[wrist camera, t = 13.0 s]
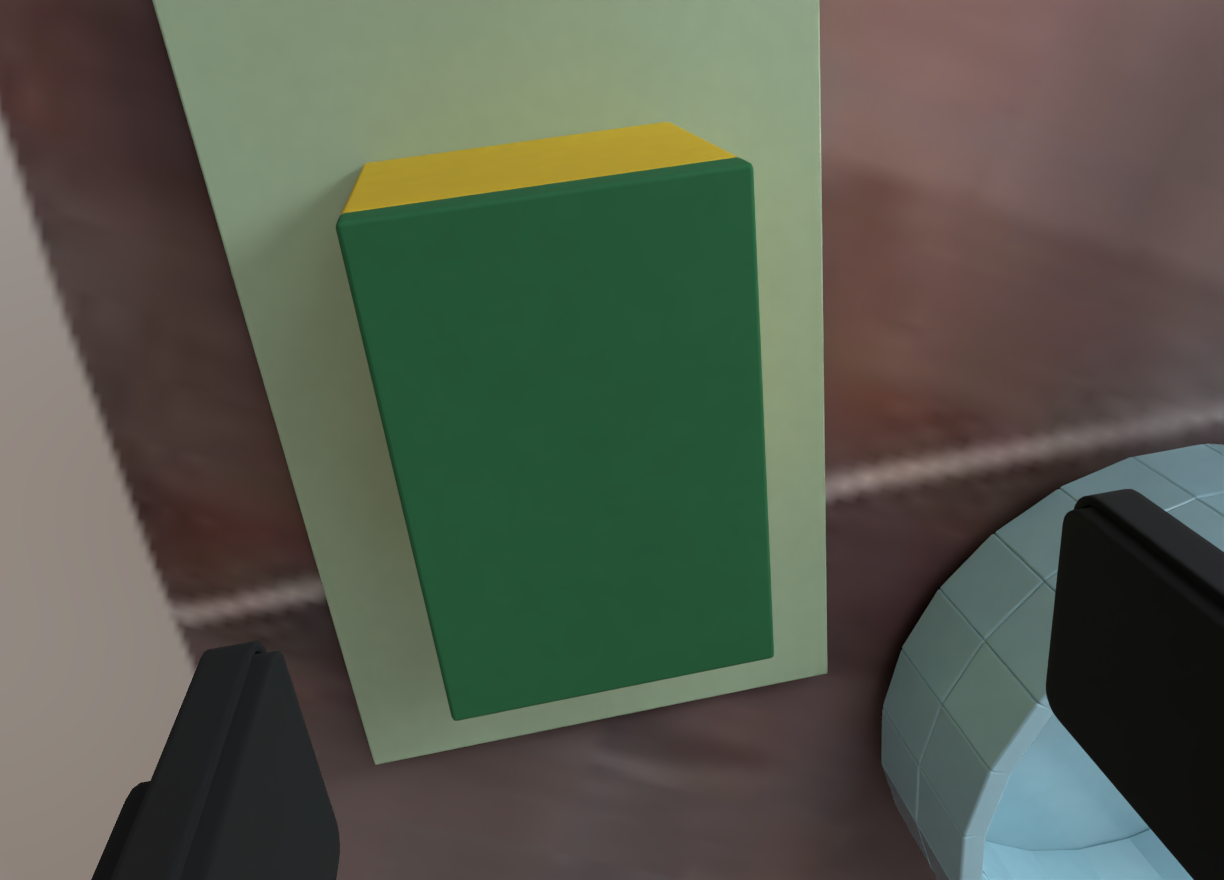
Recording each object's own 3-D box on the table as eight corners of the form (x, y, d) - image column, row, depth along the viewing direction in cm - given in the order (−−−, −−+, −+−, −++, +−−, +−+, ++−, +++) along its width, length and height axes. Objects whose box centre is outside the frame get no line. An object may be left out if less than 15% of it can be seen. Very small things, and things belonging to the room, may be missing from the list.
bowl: (1275, 323, 24) (1471, 398, 19) (1411, 678, 30) (1581, 796, 26) (777, 666, 25) (850, 807, 21) (1006, 930, 32) (1098, 1080, 28)
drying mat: (116, -153, 16) (105, -158, 15) (805, -221, 17) (817, -229, 16) (375, 749, 24) (374, 765, 24) (820, 660, 26) (828, 674, 25)
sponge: (361, 162, 18) (333, 223, 13) (670, 120, 18) (755, 162, 14) (449, 561, 22) (452, 724, 17) (701, 515, 22) (775, 659, 17)
